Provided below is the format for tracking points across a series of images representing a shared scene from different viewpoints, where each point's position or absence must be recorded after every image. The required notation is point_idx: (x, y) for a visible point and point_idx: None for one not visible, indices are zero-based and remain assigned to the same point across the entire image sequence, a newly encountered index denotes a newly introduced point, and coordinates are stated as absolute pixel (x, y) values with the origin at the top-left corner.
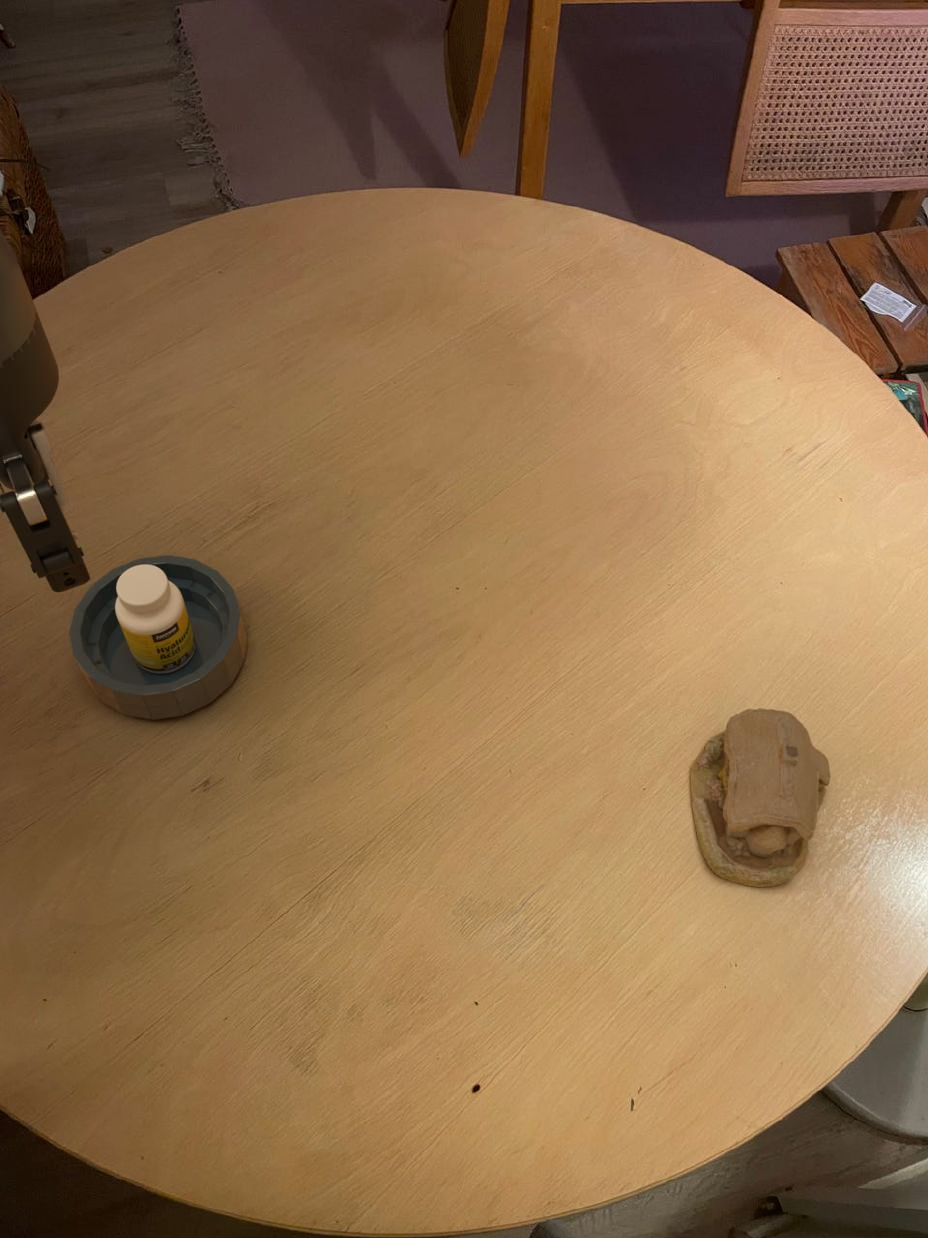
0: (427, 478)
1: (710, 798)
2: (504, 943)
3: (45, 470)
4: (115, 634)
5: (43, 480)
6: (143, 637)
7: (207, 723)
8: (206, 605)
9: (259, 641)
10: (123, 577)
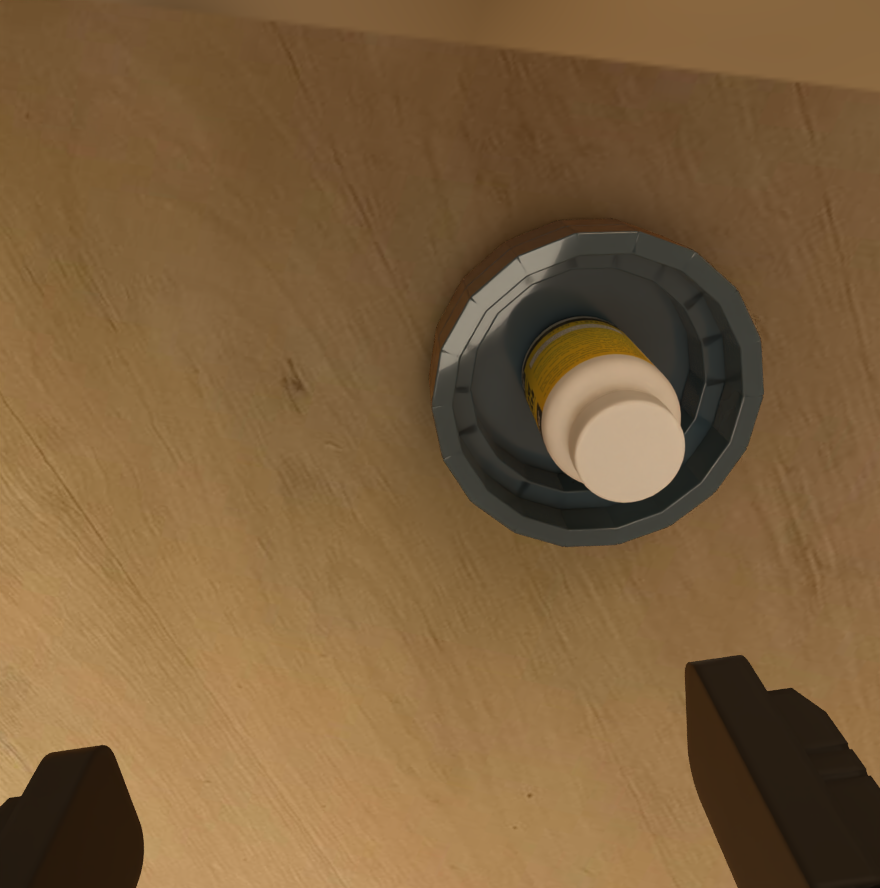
0: None
1: None
2: None
3: (712, 817)
4: (644, 288)
5: (692, 757)
6: (546, 393)
7: (410, 406)
8: None
9: None
10: (664, 419)
